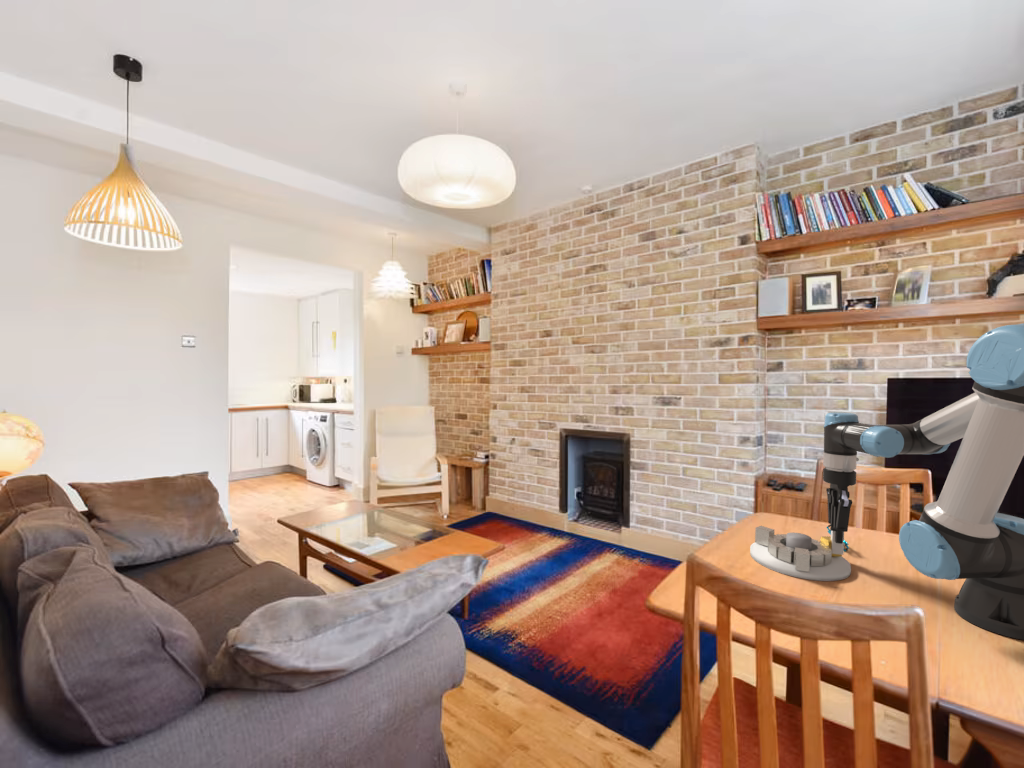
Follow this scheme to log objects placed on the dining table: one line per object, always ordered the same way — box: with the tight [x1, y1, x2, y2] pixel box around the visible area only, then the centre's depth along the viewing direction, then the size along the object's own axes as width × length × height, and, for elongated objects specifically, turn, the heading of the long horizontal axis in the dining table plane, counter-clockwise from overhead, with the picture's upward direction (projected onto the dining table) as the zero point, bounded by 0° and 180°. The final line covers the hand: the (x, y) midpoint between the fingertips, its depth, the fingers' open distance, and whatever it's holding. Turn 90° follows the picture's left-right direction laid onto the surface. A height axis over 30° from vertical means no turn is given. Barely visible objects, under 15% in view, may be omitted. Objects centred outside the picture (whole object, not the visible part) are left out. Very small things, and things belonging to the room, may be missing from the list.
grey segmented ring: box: [754, 525, 843, 572], centre depth 131 cm, size 21×19×4 cm
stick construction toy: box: [826, 524, 850, 552], centre depth 143 cm, size 12×7×8 cm
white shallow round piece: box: [749, 532, 852, 582], centre depth 131 cm, size 24×24×7 cm
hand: (836, 553), depth 130 cm, fingers closed
